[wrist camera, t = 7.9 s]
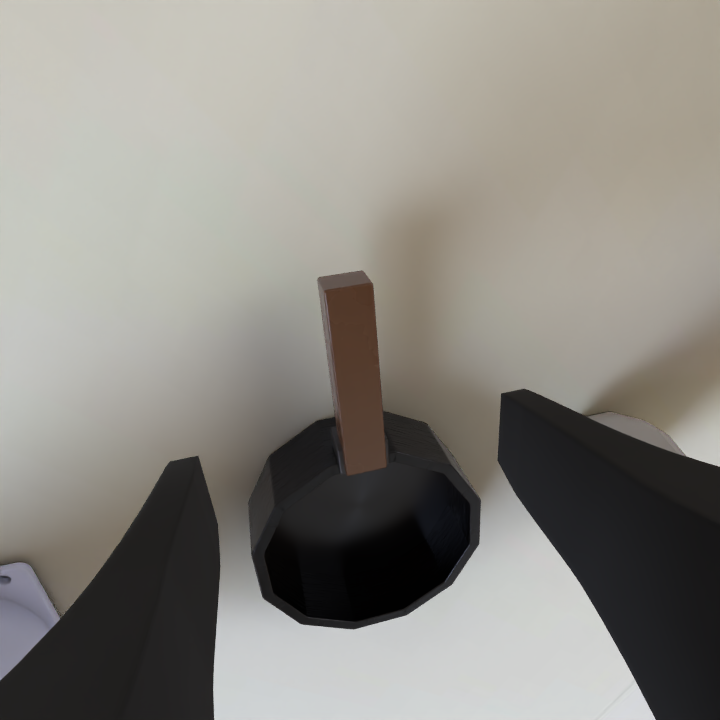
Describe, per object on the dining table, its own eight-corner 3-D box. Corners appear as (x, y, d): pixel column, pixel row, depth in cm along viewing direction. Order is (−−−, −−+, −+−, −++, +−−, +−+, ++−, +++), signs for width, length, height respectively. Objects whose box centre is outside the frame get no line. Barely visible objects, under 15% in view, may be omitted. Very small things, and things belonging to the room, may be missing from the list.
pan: (453, 547, 29) (483, 606, 25) (270, 593, 27) (277, 662, 24) (453, 234, 20) (498, 262, 17) (191, 274, 19) (184, 313, 16)
